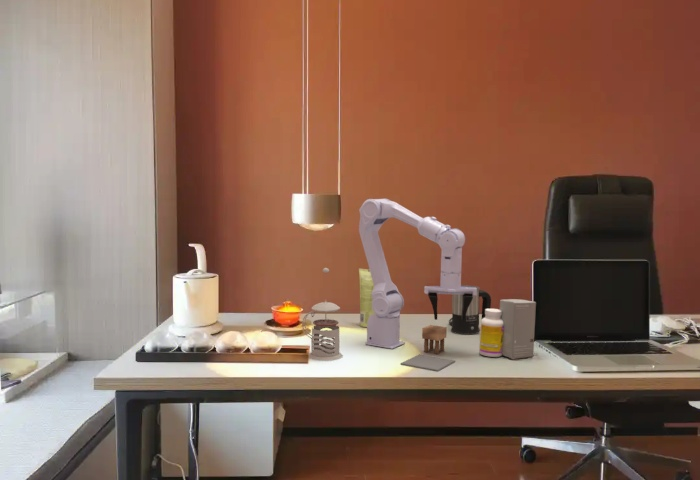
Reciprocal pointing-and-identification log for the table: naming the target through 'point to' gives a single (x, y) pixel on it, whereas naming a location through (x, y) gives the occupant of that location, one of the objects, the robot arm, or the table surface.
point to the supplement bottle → (491, 333)
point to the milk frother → (468, 312)
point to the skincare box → (518, 327)
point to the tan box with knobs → (434, 337)
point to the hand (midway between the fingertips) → (449, 319)
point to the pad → (428, 362)
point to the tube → (365, 296)
